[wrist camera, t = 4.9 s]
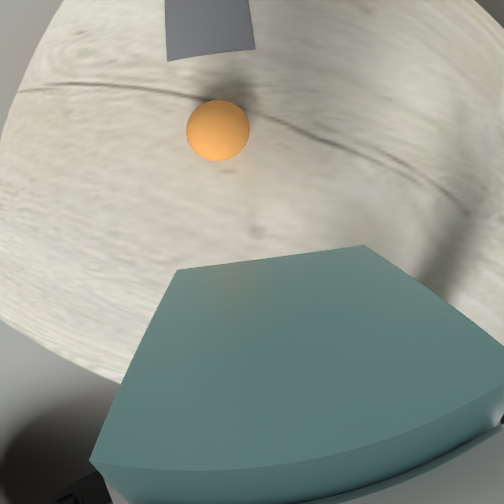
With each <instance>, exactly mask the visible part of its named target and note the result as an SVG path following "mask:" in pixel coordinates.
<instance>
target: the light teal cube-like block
mask: <svg viewBox="0 0 504 504" xmlns="http://www.w3.org/2000/svg"><path fill="white" fill-rule="evenodd" d="M503 414H504V346H503V345H501V344H500V343H499V342H498V341H497V340H495V339H494V338H493V337H492V336H490V335H489V334H488V333H487V332H485V331H484V330H483V329H482V328H480V327H479V326H478V325H477V324H475V323H474V322H473V321H471V320H470V319H469V318H467V317H466V316H465V315H464V314H462V313H461V312H460V311H458V310H457V309H456V308H454V307H453V306H452V305H450V304H449V303H448V302H446V301H445V300H443V299H442V298H441V297H439V296H438V295H437V294H435V293H434V292H432V291H431V290H430V289H428V288H427V287H425V286H424V285H423V284H421V283H420V282H418V281H417V280H415V279H414V278H413V277H411V276H410V275H408V274H407V273H405V272H404V271H402V270H401V269H399V268H398V267H396V266H395V265H394V264H392V263H391V262H389V261H388V260H386V259H385V258H383V257H382V256H380V255H378V254H377V253H375V252H374V251H372V250H371V249H369V248H368V247H366V246H365V245H363V246H355V247H348V248H341V249H334V250H326V251H319V252H311V253H304V254H296V255H289V256H281V257H274V258H266V259H258V260H251V261H243V262H235V263H228V264H220V265H212V266H204V267H196V268H188V269H180V270H177V271H176V273H175V275H174V277H173V279H172V281H171V283H170V284H169V286H168V288H167V290H166V292H165V294H164V296H163V298H162V300H161V302H160V304H159V306H158V308H157V310H156V312H155V314H154V316H153V318H152V320H151V322H150V324H149V326H148V328H147V330H146V332H145V334H144V336H143V338H142V340H141V342H140V344H139V346H138V348H137V351H136V353H135V355H134V357H133V359H132V361H131V363H130V366H129V368H128V370H127V372H126V374H125V376H124V379H123V381H122V383H121V385H120V388H119V390H118V392H117V394H116V397H115V399H114V401H113V403H112V406H111V408H110V410H109V413H108V415H107V418H106V420H105V422H104V425H103V427H102V430H101V432H100V435H99V437H98V439H97V442H96V444H95V447H94V450H93V452H92V455H91V457H90V462H91V463H92V464H93V465H94V467H95V468H96V469H97V470H98V471H99V472H100V473H101V475H102V476H103V477H104V478H105V479H106V480H107V481H108V482H109V483H110V484H111V485H112V486H113V487H114V488H115V489H116V491H117V492H118V493H119V494H120V495H121V496H123V497H124V498H125V499H126V500H127V501H128V502H129V503H130V504H298V503H303V502H309V501H314V500H318V499H323V498H327V497H331V496H335V495H339V494H343V493H347V492H350V491H354V490H357V489H361V488H364V487H367V486H370V485H373V484H376V483H379V482H382V481H385V480H387V479H390V478H393V477H395V476H398V475H401V474H403V473H406V472H408V471H410V470H413V469H415V468H417V467H420V466H422V465H424V464H426V463H429V462H431V461H433V460H435V459H437V458H439V457H441V456H443V455H445V454H447V453H449V452H451V451H453V450H455V449H457V448H458V447H460V446H462V445H464V444H466V443H468V442H469V441H471V440H473V439H475V438H476V437H478V436H480V435H482V434H484V433H485V432H487V431H489V430H491V429H493V428H495V427H496V426H497V424H498V423H499V421H500V419H501V417H502V416H503Z"/></svg>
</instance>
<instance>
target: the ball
mask: <svg viewBox="0 0 504 504" xmlns="http://www.w3.org/2000/svg"><path fill="white" fill-rule="evenodd" d="M249 131H250V129H249V122H248V119H247V117H246V115H245V113H244V112H243V111H242V110H241V109H240V108H239V107H238V106H237V105H235V104H233V103H231V102H228V101H224V100H213V101H209V102H206V103H204V104H202V105H200V106H199V107H198V108H197V109H195V111H194V112H193V113H192V114H191V116H190V118H189V120H188V123H187V128H186V135H187V140H188V142H189V144H190V146H191V148H192V149H193V150H194V151H195V152H196V153H197V154H198V155H199V156H201V157H203V158H205V159H208V160H212V161H222V160H226V159H229V158H232V157H234V156H235V155H237V154H238V153H239V152H240V151H241V150H242V149H243V148H244V146H245V145H246V143H247V141H248V138H249Z"/></svg>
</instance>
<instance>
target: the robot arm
mask: <svg viewBox="0 0 504 504" xmlns="http://www.w3.org/2000/svg"><path fill="white" fill-rule="evenodd" d="M52 504H130V503H129V502H128V501H127V500H126V499H125V498H124V497H123V496H121V495H120V494H119V493H118V492H117V491H116V489H115V488H114V487H113V486H112V485H111V484H110V483H109V482H108V481H107V480H106V479H105V478H104V477H103V476H102V475H101V473H100V472H99V471H98V470H97V471H95V472H93V473H91V474H89V475H87V476H85V477H83V478H81V479H79V480H77V481H75V482H73V483H71V484H69V485H67V486H65V487H63V488H61V489H59V490H58V491H57V492H56V493H55V494H54V495H53V498H52ZM298 504H504V414H503V416H502V417H501V419H500V421H499V423H498V424H497V426H496V427H495V428H493V429H491V430H489V431H487V432H485V433H484V434H482V435H480V436H478V437H476V438H475V439H473V440H471V441H469V442H468V443H466V444H464V445H462V446H460V447H458V448H457V449H455V450H453V451H451V452H449V453H447V454H445V455H443V456H441V457H439V458H437V459H435V460H433V461H431V462H429V463H426V464H424V465H422V466H420V467H417V468H415V469H413V470H410V471H408V472H406V473H403V474H401V475H398V476H395V477H393V478H390V479H387V480H385V481H382V482H379V483H376V484H373V485H370V486H367V487H364V488H361V489H357V490H354V491H350V492H347V493H343V494H339V495H335V496H331V497H327V498H323V499H318V500H314V501H309V502H303V503H298Z"/></svg>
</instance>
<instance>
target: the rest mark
mask: <svg viewBox="0 0 504 504" xmlns="http://www.w3.org/2000/svg"><path fill="white" fill-rule="evenodd" d="M165 26H166V47H167V61H168V62H169V61H173V60H178V59H183V58H189V57H194V56H200V55H207V54H214V53H221V52H230V51H239V50H250V49H255V46H254V39H253V33H252V26H251V20H250V13H249V7H248V1H247V0H165Z"/></svg>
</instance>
